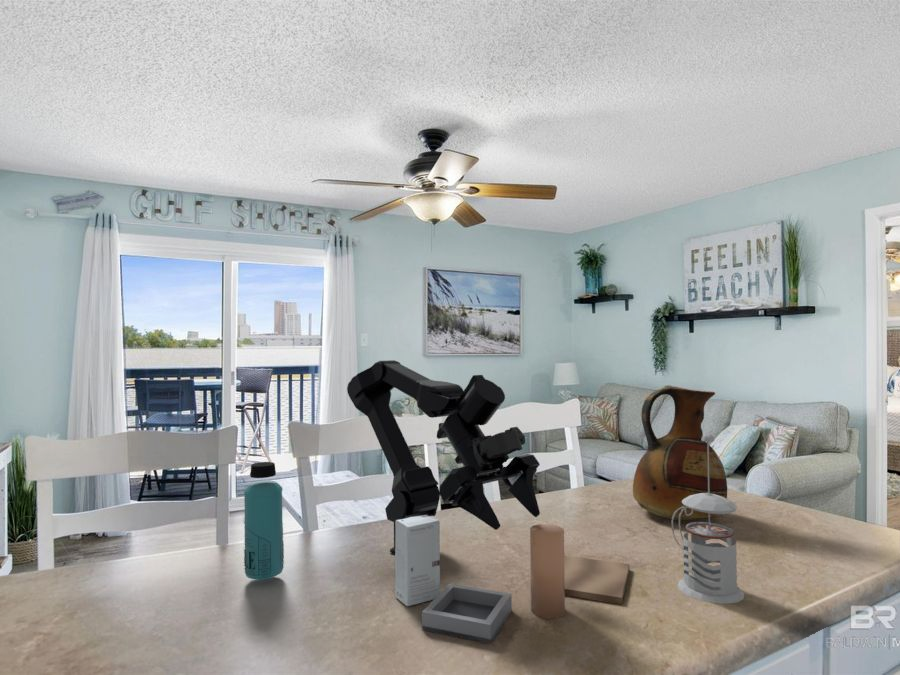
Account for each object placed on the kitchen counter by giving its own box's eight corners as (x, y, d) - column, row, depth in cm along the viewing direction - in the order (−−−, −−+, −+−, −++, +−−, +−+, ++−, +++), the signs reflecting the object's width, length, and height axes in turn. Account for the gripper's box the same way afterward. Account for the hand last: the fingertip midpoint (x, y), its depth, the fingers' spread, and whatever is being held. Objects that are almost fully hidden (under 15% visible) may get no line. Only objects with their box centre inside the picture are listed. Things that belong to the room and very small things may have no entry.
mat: (531, 589, 90) (531, 583, 90) (550, 558, 103) (550, 553, 103) (621, 604, 85) (621, 597, 85) (629, 569, 98) (629, 564, 98)
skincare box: (407, 608, 84) (407, 527, 84) (393, 597, 88) (393, 519, 88) (442, 597, 88) (441, 520, 88) (427, 587, 91) (426, 513, 92)
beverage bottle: (292, 575, 96) (291, 459, 97) (267, 591, 90) (267, 467, 91) (260, 571, 99) (260, 457, 99) (234, 586, 92) (234, 465, 93)
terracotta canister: (527, 615, 82) (526, 532, 82) (535, 600, 86) (534, 522, 86) (561, 621, 80) (560, 536, 80) (567, 606, 84) (566, 526, 85)
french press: (717, 609, 83) (714, 440, 83) (655, 580, 93) (653, 430, 94) (758, 595, 87) (755, 435, 88) (695, 569, 98) (693, 426, 98)
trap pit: (422, 629, 78) (422, 611, 78) (449, 599, 87) (449, 583, 87) (490, 643, 74) (490, 624, 74) (511, 610, 83) (511, 593, 83)
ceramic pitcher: (744, 528, 119) (742, 388, 119) (650, 529, 119) (647, 389, 120) (704, 503, 138) (702, 382, 139) (622, 503, 139) (621, 383, 139)
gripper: (450, 417, 86) (503, 503, 77) (530, 407, 98) (584, 481, 89) (419, 461, 91) (465, 546, 83) (498, 447, 104) (546, 520, 95)
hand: (518, 521), depth 87 cm, fingers open, 9 cm apart
